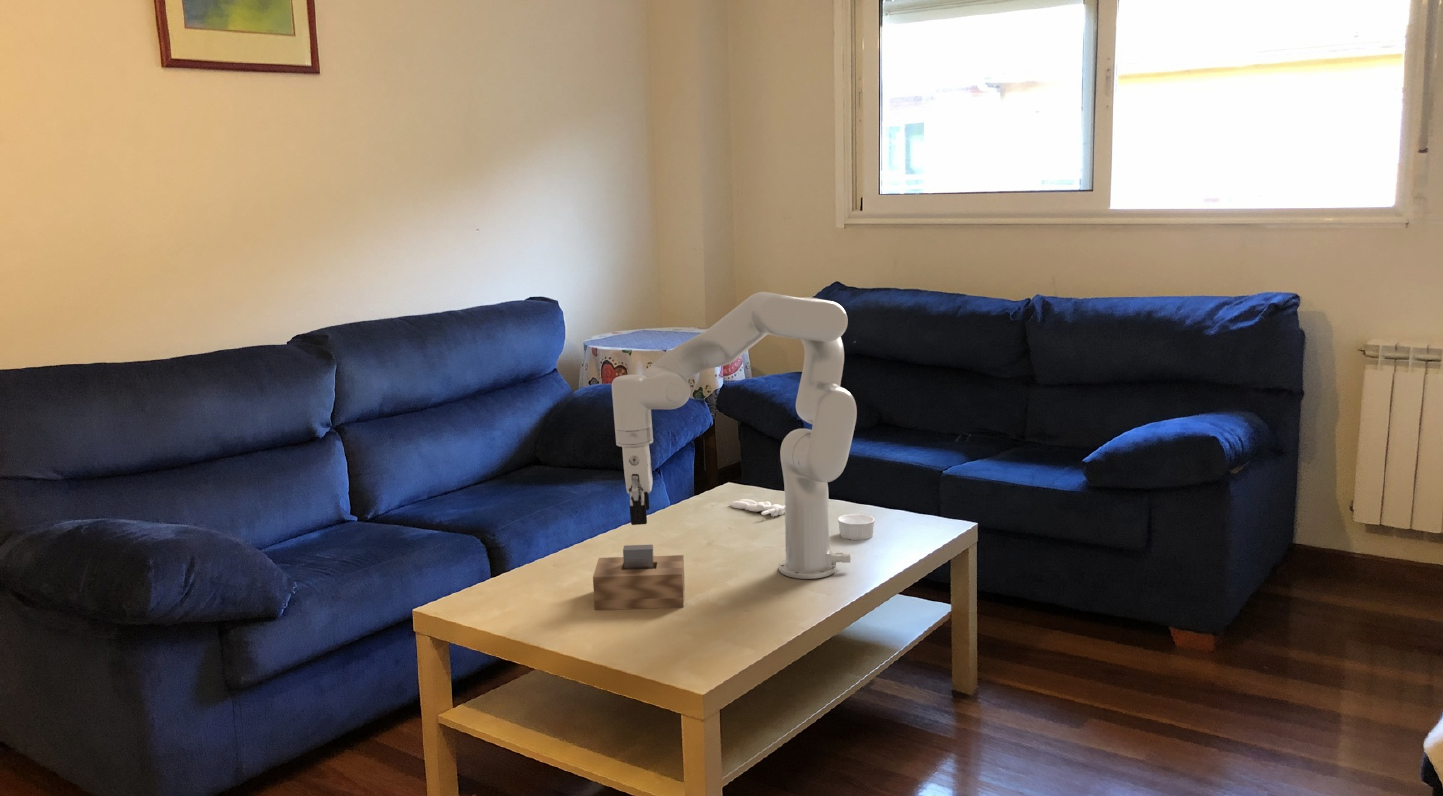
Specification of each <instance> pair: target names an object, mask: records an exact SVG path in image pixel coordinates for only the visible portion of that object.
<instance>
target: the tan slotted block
mask: <svg viewBox="0 0 1443 796" xmlns="http://www.w3.org/2000/svg"><path fill="white" fill-rule="evenodd" d="M684 556H685V555H684V554H681V555H678V554H677V555H653V559H654V569H630V570H624V560H623V556H616V557H614V556H613V557H598V559H597V561H596V562H597V563H596V565H595V570H594V572H593V575H592V582H593V583H592V585H593V586H592V587H593V603H594V605H593V606H594V607H593V608H594V611H605V610H608V611H609V610H634V609H635V610H639V609H640V610H641V609H665V608H667V609H668V608H669V609H671V608H672V609H673V608H684V606H685V605H684V601H685V589H686V588H685V560H684V558H685V557H684Z"/></svg>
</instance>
